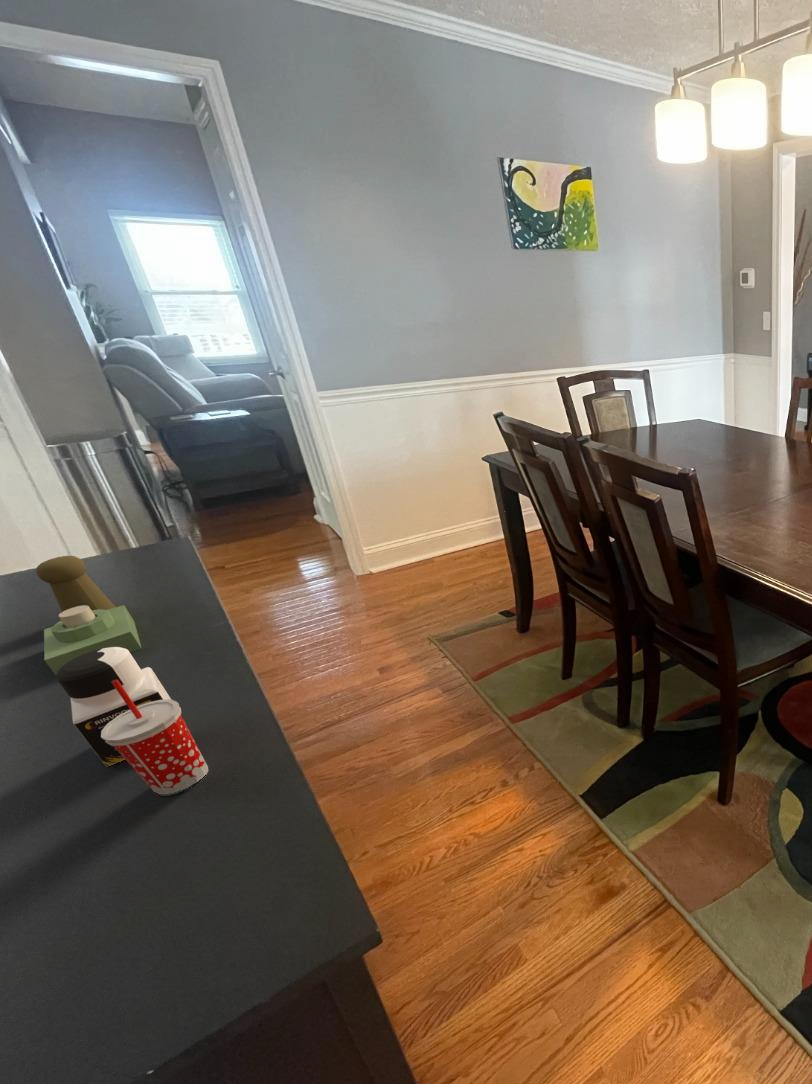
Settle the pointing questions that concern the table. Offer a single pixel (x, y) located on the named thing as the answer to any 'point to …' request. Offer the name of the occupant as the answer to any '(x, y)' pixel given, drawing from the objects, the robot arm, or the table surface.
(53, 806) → the table surface
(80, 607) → the beige button cap
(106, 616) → the green push button box
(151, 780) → the beverage cup
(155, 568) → the table surface
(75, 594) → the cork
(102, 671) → the medicine bottle
